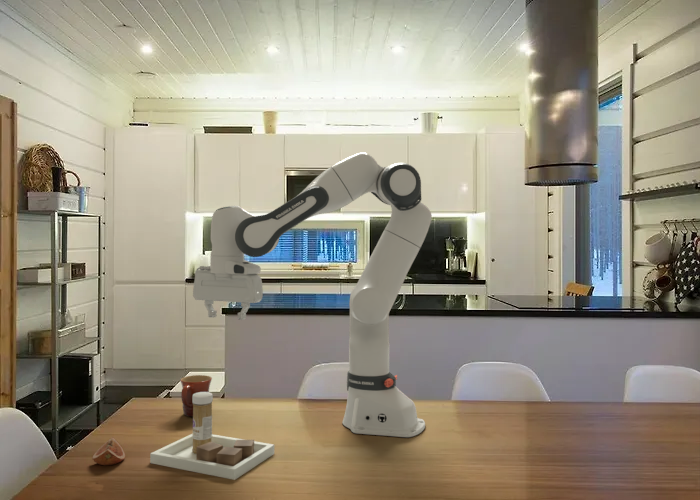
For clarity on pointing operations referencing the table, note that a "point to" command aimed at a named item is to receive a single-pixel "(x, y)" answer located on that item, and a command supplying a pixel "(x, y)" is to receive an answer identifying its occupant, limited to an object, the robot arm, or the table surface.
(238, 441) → the cube
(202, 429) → the sprinkles bottle
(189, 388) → the mug
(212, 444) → the cube
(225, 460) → the cube
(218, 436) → the tray
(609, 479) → the table surface
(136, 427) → the table surface
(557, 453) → the table surface
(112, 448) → the fruit slice
